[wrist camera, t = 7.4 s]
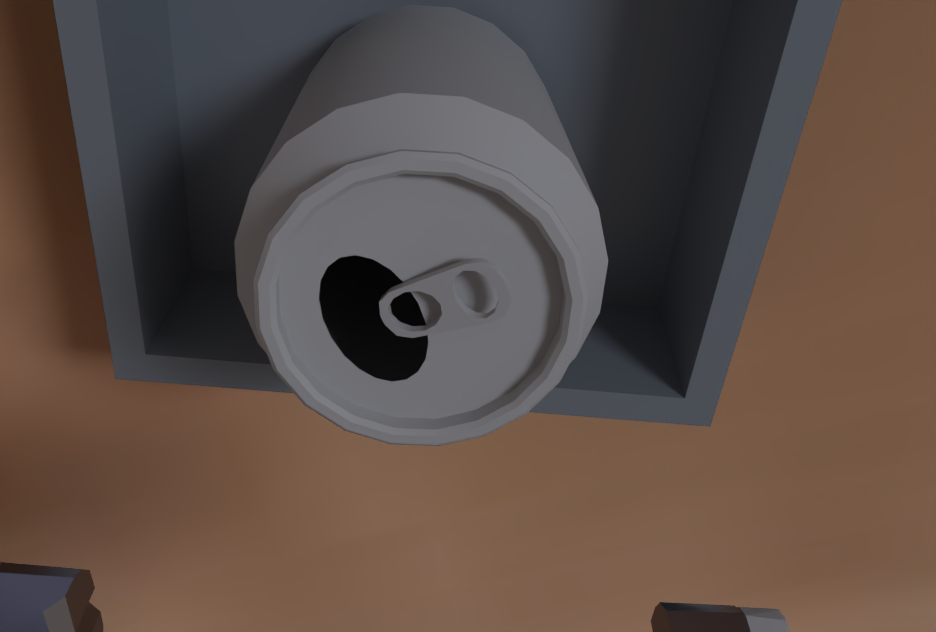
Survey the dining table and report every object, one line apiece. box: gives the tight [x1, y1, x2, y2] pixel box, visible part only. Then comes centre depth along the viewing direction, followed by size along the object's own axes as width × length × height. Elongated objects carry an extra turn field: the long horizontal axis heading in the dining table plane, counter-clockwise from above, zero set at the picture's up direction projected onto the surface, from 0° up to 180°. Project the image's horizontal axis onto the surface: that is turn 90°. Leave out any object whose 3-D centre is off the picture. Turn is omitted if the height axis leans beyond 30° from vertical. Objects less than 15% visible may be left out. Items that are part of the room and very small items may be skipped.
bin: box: [53, 0, 842, 427], centre depth 24 cm, size 18×18×6 cm
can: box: [234, 5, 608, 446], centre depth 22 cm, size 8×8×12 cm
